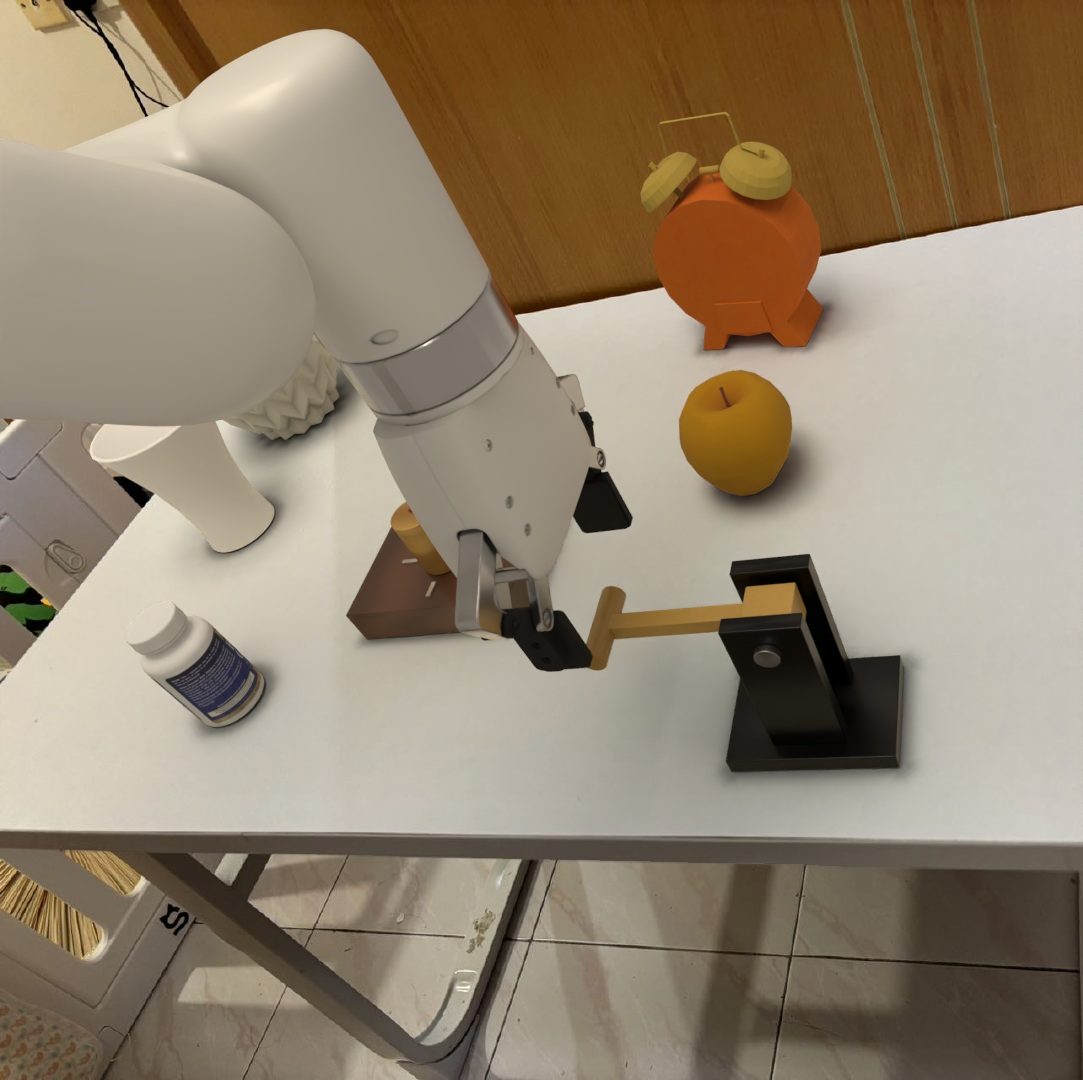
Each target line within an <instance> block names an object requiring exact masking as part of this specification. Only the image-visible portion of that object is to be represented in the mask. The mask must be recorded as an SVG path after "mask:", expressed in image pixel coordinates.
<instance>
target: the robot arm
mask: <svg viewBox="0 0 1083 1080" xmlns="http://www.w3.org/2000/svg"><path fill="white" fill-rule="evenodd" d="M314 332H315V334H316V335H317V337H318V338H319V339H320V341H321V342H322V343H323V345H324V346H325V348H326V349H327V350H328V352H329V353H330V354H331V355H332V357H333V358H334V360H335V361H336V363H337V366H338V367H339V368H340V370H341V371H342V372H343V374H344V375H345V376H346V378H347V379H348V381H349V382H350V383H351V385H352V386H353V387H354V389H355V390H356V392H357V393H358V394H359V396H360V397H361V399H362V400H363V401H364V403H365V404H366V406H367V407H368V408H369V410H370V411H371V412H372V414H373V415H374V417H376V418H377V419H376V420H375V421H376V422H375V424H374V426H373V430H372V431H373V434H374V437H375V440H376V443H377V445H378V447H379V450H380V452H381V455H382V457H383V459H384V461H385V463H386V466H387V467H388V470H389V472H390V474H391V476H392V478H393V481H394V482H395V484H396V486H397V487H398V489H399V492H400V493H401V495H402V497H403V499H404V501H405V502H407V504H408V505H409V507H410V509H411V511H412V512H413V514H414V516H415V517H416V519H417V520H418V522H419V524H420V525H421V527H422V528H423V530H424V532H425V533H426V535H427V536H428V538H429V539H430V541H431V542H432V544H433V545H434V547H435V548H436V550H437V551H438V553H439V554H440V556H441V557H442V558H443V560H444V561H445V563H446V564H447V565H448V567H449V568H450V570H451V571H452V572H453V573H454V575H455V576H456V577H457V589H456V605H455V626H456V628H457V630H458V631H460V632H459V633H462V634H466V635H468V636H472V637H475V638H480V639H481V640H482V641H485V642H486V641H496V640H497V641H500V640H511V639H512V640H514V641H515V643H516V644H517V645H518V647H519V649H521V651H522V652H523V654H524V655H525V657H526V658H527V659H528V660H529V662H530V663H531V664H532V666H533V667H534V668H535V669H536V670H538V671H541V672H547V673H554V672H555V673H556V672H562V671H565V670H579V669H589V668H588V667H590V666H591V662H592V659H593V655H592V654H591V651H590V650H589V648H588V647H587V645H586V642H585V641H584V639H583V637H582V636H581V635H580V633H579V632H578V630H577V629H576V627H575V626H574V624H573V623H572V621H571V620H570V619H569V617H568V616H567V613H565V611H563V610H559V609H556V610H554V608H553V601H552V594H551V589H550V583H549V577H548V574H549V572H550V571H551V569H552V568H553V566H554V565H555V563H556V562H557V560H558V558H559V555H560V553H561V550H562V547H563V546H564V542H565V541H566V540H565V539H566V536H567V534H568V531H569V528H570V525H571V522H572V519H574V521H575V522H576V524H577V526H578V527H579V529H580V531H581V532H582V533H584V534H595V533H601V532H602V533H604V532H612V531H619V530H627V529H628V528H630V527H631V526H632V524H633V523H632V522H633V519H634V517H633V514H632V513H631V511H630V509H629V507H628V505H627V504H626V502H625V500H624V498H623V496H622V495H621V492H620V491H619V489H618V487H617V485H616V483H615V481H614V479H613V478H612V476H611V474H610V472H609V471H608V470H607V471H603V470H605V469H606V468H607V467H606V466H607V455H606V453H605V451H604V450H603V448H601V447H599V446H598V447H597V446H596V440H595V431H594V424H595V421H594V420H593V416H592V415H591V413H590V412H589V411H587V410H584V409H585V408H586V404H585V400H584V396H583V392H582V388H581V384H580V381H579V378H578V376H577V375H576V374H575V373H571V374H565V375H560V376H558V375H556V373H555V371H554V370H553V368H552V367H551V365H550V364H549V362H548V360H547V359H546V357H545V356H544V354H543V353H542V352H541V350H540V349H539V347H538V346H537V345H536V343H535V342H534V340H533V339H532V338H531V336H530V335H529V333H528V332H527V331H526V330H525V328H524V327H523V326H522V324H521V323H520V322H519V320H518V318H517V316H516V314H515V313H514V311H513V309H512V307H511V305H510V304H509V302H508V300H507V298H506V296H505V295H504V293H503V291H502V289H501V288H500V285H499V284H498V282H497V280H496V278H495V276H494V275H493V273H492V271H491V269H490V268H489V266H488V265H487V263H486V261H485V259H484V256H482V253H481V252H480V250H479V248H478V246H477V244H476V242H475V241H474V239H473V237H472V235H471V234H470V232H469V230H468V228H467V226H466V224H465V222H464V221H463V219H462V217H461V215H460V213H459V211H458V210H457V208H456V206H455V204H454V203H453V201H452V199H451V196H450V195H449V193H448V192H447V190H446V187H445V186H444V184H443V182H442V180H441V179H440V177H439V175H438V173H437V171H436V170H435V168H434V166H433V164H432V162H431V161H430V159H429V157H428V155H427V153H426V152H425V150H424V148H423V146H422V144H421V142H420V140H419V139H418V137H417V135H416V134H415V131H414V130H413V128H412V126H411V124H410V122H409V120H408V119H407V117H406V115H405V113H404V111H403V110H402V108H401V106H400V104H399V102H398V100H397V98H396V96H395V95H394V93H393V91H392V89H391V87H390V86H389V84H388V82H387V81H386V79H385V77H384V75H383V73H382V72H381V69H379V67H378V65H377V64H376V62H375V60H374V59H373V57H372V56H371V54H370V53H369V52H368V51H367V50H366V49H365V47H364V46H363V45H362V44H360V42H358V41H357V40H356V39H355V38H353V37H351V36H349V35H348V34H346V33H344V32H342V31H338V30H334V29H329V28H322V29H321V28H320V29H311V30H303V31H299V32H295V33H292V34H289V35H285V36H282V37H280V38H277V39H274V40H272V41H270V42H268V43H265V44H263V45H261V46H259V47H256V48H255V49H253V50H251V51H249V52H246V53H244V54H243V55H241V56H239V57H237V58H235V59H234V60H232V61H230V62H228V63H227V64H225V65H224V66H222V67H221V68H219V69H218V70H216V71H214V72H213V73H212V74H211V75H209V76H207V77H206V78H205V79H204V80H203V81H202V82H200V83H199V84H198V85H197V86H196V87H195V88H194V89H193V90H192V92H190V94H189V95H188V96H187V97H186V98H184V99H183V100H180V101H179V102H176V103H174V104H172V105H170V106H168V107H166V108H163V109H161V110H158V111H156V112H154V113H151V114H149V115H147V116H145V117H143V118H141V119H138V120H135V121H134V122H131V123H128V124H126V125H124V126H121V127H118V128H116V129H114V130H111V131H109V132H106V133H103V134H100V135H98V136H95V137H93V138H90V139H87V140H85V141H83V142H80V143H78V144H75V145H72V146H70V147H66V148H65V149H61V150H58V149H53V148H49V147H43V146H39V145H35V144H31V143H27V142H22V141H17V140H13V139H8V138H4V137H0V419H3V420H5V419H6V420H21V421H45V422H62V423H78V424H79V423H80V424H95V425H104V424H112V425H130V426H154V427H159V426H186V425H197V424H202V423H208V422H213V421H216V422H218V421H223V420H224V419H227V418H230V417H233V416H236V415H238V414H241V413H244V412H247V411H249V410H251V409H253V408H255V407H256V406H258V405H260V404H262V403H263V402H265V401H267V400H269V399H270V398H271V397H272V396H273V395H275V394H276V393H277V392H278V391H279V390H280V389H282V388H283V387H284V386H285V385H286V384H287V383H288V382H289V381H290V380H291V378H292V377H293V376H294V374H295V373H296V372H297V371H298V369H299V368H300V367H301V365H302V363H303V361H304V359H305V357H306V355H307V353H308V351H309V349H310V346H311V342H312V338H313V334H314ZM501 556H502V558H504V559H505V560H507V561H508V562H509V563H511V564H512V565H514V566H515V567H506V568H503V564H502V558H501ZM523 580H526V584H527V590H528V596H529V602H530V607H521V608H513V609H512V602H511V596H510V590H509V584H508V582H514V581H523Z"/></svg>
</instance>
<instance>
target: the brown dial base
mask: <svg viewBox="0 0 1083 1080" xmlns="http://www.w3.org/2000/svg"><path fill="white" fill-rule="evenodd" d="M501 558H502V556H501ZM502 564H503V568H506V567H515V566H514V565H512V564H511V563H509V562H508V561H507V560H505V559H504V558H502ZM508 584H509V590H510V596H511V602H512V609H513V608H521V607H530V602H529V596H528V590H527V584H526V580H523V581H514V582H508ZM456 589H457V577H456V576H455V575H454V573H453V572H452V571H449V572H447V573H444V574H441V575H431V574H428V573H427V572H426V571H425V570H424V569H423V567H422V566H421V565H420V563H419V562H418V561H417V559H416V558H415V557H414V555H413V554H412V553H411V552H410V550H409V549H408V548H407V546H406V545H405V544H404V542H403V541H402V540H401V538H400V537H399V536H398V534H397V533H396V532H395V531H394V529H393V528H392V526H391V525H390V528H389V530H388V533H387V534H386V535H385V538H384V540H383V542H382V544H381V546H380V548H379V550H378V552H377V553H376V556H375V558H374V560H373V561H372V564H371V565H370V567H369V570H368V572H367V573H366V575H365V577H364V579H363V581H362V583H361V585H360V587H359V589H358V591H357V593H356V595H355V596H354V599H353V601H352V602H351V605H350V606H349V608H348V611H347V612H346V615H345V617H346V618H347V619H348V620H349V621H350V623H351V624H352V625H353V626H354V627H355V628H356V629H357V630H358V631H359V633H360V634H361V635H362V636H363V637H364V639H366V640H376V639H389V638H401V637H402V638H403V637H413V636H414V637H415V636H427V635H437V634H438V635H439V634H440V635H441V634H450V633H451V634H452V633H461V632H460V631H458V630H457V628H456V626H455V605H456Z"/></svg>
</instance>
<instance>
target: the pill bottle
mask: <svg viewBox="0 0 1083 1080" xmlns="http://www.w3.org/2000/svg"><path fill="white" fill-rule="evenodd" d="M124 640H125V642H126V644H128V645H129V646H130V647H131V648H132V649H133V650H134V651H135V652H136V653H138V654H139V655H140V666H141V669H142V671H143V672H144V673H145V674H146V675H147V676H148V677H149V678H150V679H151V680H152V681H153V682H154V683H156V684H157V685H159V686H160V687H161V688H162V689H163V690H164V691H166V692H167V693H168V695H170V696H171V697H173V698H174V699H175V700H176V701H177V702H178V703H179V704H181V705H182V706H183V707H184V708H185V709H187V711H189V712H190V714H192V715H193V716H194V717H195V718H197V719H198V720H199V721H201V722H202V723H203V724H204V725H206V726H209V727H212V728H220V727H224V726H228V725H230V724H233V723H235V722H237V721H239V720H240V719H242V718H243V717H244V716H246V715H247V714H248V713H249V712H250V711H251V710H252V709H253V708H254V707H255V705H256V704H257V703H258V702H259V699H260V698H261V696H262V695H263V691H264V687H265V679H264V676H263V674H262V673H261V671H260V670H259V669H258V668H257V667H256V666H254V665H255V664H253V663H252V662H250V660H249V659H248V658H246V656H245V655H243V654H242V653H241V651H239V650H238V649H237V647H236V646H234V645H233V644H232V643H231V642H230V641H229V640H228V639H227V638H225V636H224V635H223V634H221V633H220V632H219V631H218V630H217V628H216V627H214V626H213V625H212V623H210V622H209V621H208V620H206V619H205V618H203V617H201V616H197V615H189V616H188V615H187V614H185V612H184V610H182V609H181V608H179V607H178V606H177V605H176V603H174V602H172V601H170V600H161V601H158V602H155V603H153V604H151V605H149V606H147V607H146V608H144V609H142V611H141V612H139V613H138V614H137V615H135V617H133V619H132V620H131V621H130V622H129V624H128V625H127V627H126V630H125V632H124Z"/></svg>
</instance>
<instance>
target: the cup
mask: <svg viewBox="0 0 1083 1080" xmlns="http://www.w3.org/2000/svg"><path fill="white" fill-rule="evenodd" d="M89 455H90V457H91V459H92V460H93V461H94V462H97V463H98V464H100V465H102V466H105V467H106V468H108V469H110V470H111V471H113V472H116V473H117V474H119V475H121V476H123V477H125V478H126V479H127V480H130V481H132V482H133V483H135V484H137V485H139V486H140V487H142V488H144V489H146V490H147V491H149V492H151V493H153V494H155V495H156V496H157V497H159V498H160V499H161V500H163V501H164V502H166V503H167V504H168V505H169V506H170V507H172V508H174V510H177V511H178V512H179V513H180V514H181V515H182V516H183V517H184V518H185V519H186V520H187V521H188V522H190V523H191V524H192V525H193V526H194V527H195V528H196V529H197V530H198V531H199V533H201V535H202V536H203V537H204V539H205V541H206V542H207V543H208V544H209V546H210V547H211V548H212V550H213V551H215V552H217V553H229V552H234V551H237V550H240V549H242V548H244V547H245V546H248V545H249V544H251V543H253V541H255V540H257V539H258V538H259V537H260V536H261V535H262V534H264V532H265V531H266V530H267V529H268V528H269V526H270V525H271V523H272V521H273V520H274V517H275V514H276V513H275V507H274V505H273V504H272V503H270V502H269V501H268V500H267V499H266V497H264V496H263V495H262V494H261V493H260V492H259V491H258V490H257V489H256V488H255V487H253V484H251V483H250V481H249V480H248V479H247V477H246V476H245V475H244V473H243V472H242V471H241V468H240V467H239V466H238V464H237V462H236V461H235V459H234V458H233V456H232V454H231V452H230V450H229V448H228V447H227V445H226V443H225V440H224V438H223V436H222V433H221V430H220V428H219V425H218V424H217V421H213V422H208V423H202V424H197V425H186V426H159V427H154V426H130V425H112V424H102V426H101V427H100V429H99V430H98V431H97V432H96V433H95V435H94V437H93V439H92V441H91V443H90V446H89Z"/></svg>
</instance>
